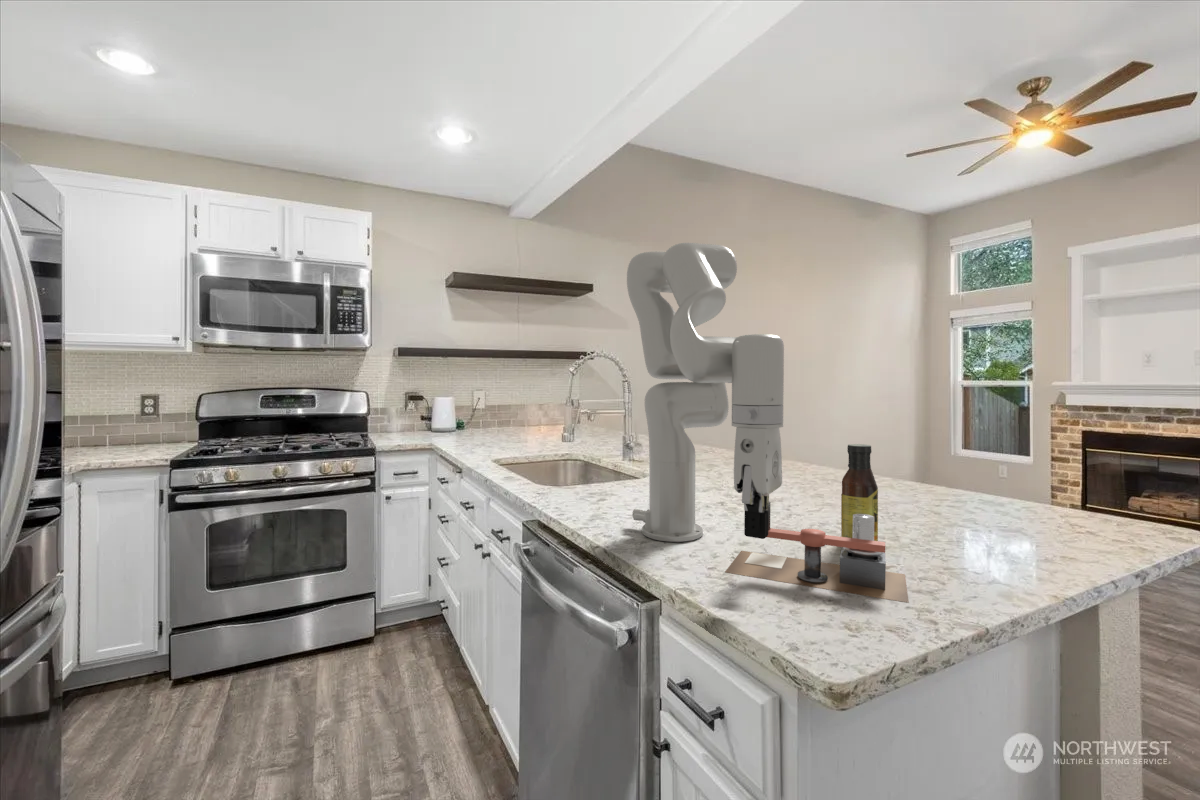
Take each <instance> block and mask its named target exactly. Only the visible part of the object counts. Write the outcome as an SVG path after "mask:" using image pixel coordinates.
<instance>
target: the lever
mask: <svg viewBox="0 0 1200 800" xmlns="http://www.w3.org/2000/svg"><path fill="white" fill-rule="evenodd" d="M766 511H769V513H768V536H767V537H766V538H771V539H776V540H777V539H778V540H786V541H793V542H794V541H795V542H798V543H799V542H800V543H801V544H802V545H804V546H805V545H806V546H811V547H821V548H823V547H825V546H831V547H840V548H842V547H845V548H853V549H860V550H868V551H876V552H883V553H885V554H886V542H885V541H879V540H878V541H871V540H863V539H855V538H847V537H841V536H839V535H838V536H837V535H830V534H826V532H825V531H824V530H821V529H816V528H803V529H801V530H800V531H796V530H788V529H782V528H781V529H779V528H772V527H771V501H770V500H769V507H768V510H766Z"/></svg>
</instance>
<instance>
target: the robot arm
mask: <svg viewBox="0 0 1200 800" xmlns="http://www.w3.org/2000/svg"><path fill="white" fill-rule="evenodd" d="M736 259H737V258H736V256H735V254H734V252H733V251H732V250H731V249H730V248H728V247H727V246H725V245H722V244H710V243H709V244H708V243H698V242H697V243H696V242H682V243H677V244H675V245H673V246H671V247H669V248H668V249H667V250H666V251H646V252H641V253H638V254H636V255H634V256H633V257H632V258H631V260H630V261H629V263H628V265H627V266H628V267H627V272H626V286H627V287H626V289H627V293H628V297H629V301H630V303H631V305H632V308H633V311H634V313H635V315H636V318H637V321H638V324H639V330H640V336H641V344H642V350H643V351H642V352H643V355H644V356H643V357H644V362H645V368H646V370H647V373H648V374H649V375H650V377H652V378H655V379H659V380H688V381H689V382H688V381H676V382H675V381H671V382H670V381H669V382H661V383H657V384H655V385H653V386H651V387H650V388H649V389H648V390H647V391H646V394H645V397H644V411H645V412H644V413H645V418H646V423H647V430H648V449H649V450H648V453H649V454H648V456H649V457H648V460H649V478H648V479H649V484H648V485H649V488H648V489H649V494H648V495H649V498H648V499H649V503H648V504H649V506H648V507H649V509H648V508H647V510H643V509H636V508H634V509H633V510H632V518H633V520H634V521H643V523H644V524H643V525H642V526H641V527H642V528H641V533H642V535H644V536H645V537H647V538H649V539H651V540H656V541H661V542H671V543H678V542H681V543H682V542H683V543H684V542H689V541H695V540H698V539H700V538H701V537H702V536H703V535H704V528H703V527H702V526H701V525H699V524H696V449H695V445H694V443H693V441H692V440H691V438H690V437H689V435H688V434H687V433H686V432H685V431H686V430H685V429H690V428H695V429H696V428H714V427H717V426H720V425H722V424H723V423H724V422H725V421H726V419H727V417H728V415H729V397H728V391H727V385H726V383H727V384H731V427H734V428H735V429H736V430H735V438H734V439H735V440H734V455H733V487H734V490H735V492H736V493H738V494H741V503H742V504H743V510H744V523H743V525H744V530H743V531H744V532H743V533H744V536H745V537H748V538H753V539H754V538H755V539H761V540H764V539H765V538H768V537H767V536H768V513H769V511H766V510H768V507H769V501H770V494H771V493H773V492H775V491H776V490H778V489H779V488H780V487H781V486H782V484H783V463H782V461H783V460H782V457H783V456H782V442H781V441H782V439H781V430H780V429H781V428H783V427H784V392H785V391H784V389H785V388H784V387H785V386H784V382H785V381H784V380H785V379H784V375H785V373H784V372H785V371H784V370H785V367H784V366H785V359H784V358H785V357H784V356H785V345H784V340H783V339H782V337H780V336H779V335H776V334H769V333H768V334H767V333H765V334H764V333H762V334H761V333H759V334H756V333H755V334H743V335H740V336H734V337H733V336H732V337H731V336H703V335H699V334H698V332H697V331H696V329H695V327H698V326H700V325H703V324H705V323H707V322H709V321H711V320H713V319H714V318H716V317H717V316H718V315H719V314H720V313H721V312H722V310H723V309H724V307H725V306H726V305H725V304H726V302H727V295H726V291H725V289H727V288H729V287H730V286H731V285H732V284H733V283H734V281H735V279H736V276H737V273H738V272H737V271H738V264H737V260H736ZM661 293H668V294H673V297H674V299H675V301H676V304H677V306H678V308H677V310H676V311H675V309H674V308H673V306H672V305H671V303H670V302H669V301H667V299H665V298H664V297H663V296H662V294H661ZM690 381H691V382H690Z"/></svg>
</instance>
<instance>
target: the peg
mask: <svg viewBox="0 0 1200 800" xmlns="http://www.w3.org/2000/svg"><path fill="white" fill-rule="evenodd" d="M852 538H855V539H863V540H871V541H874V516H871V515H867V514H854V515H853V537H852ZM843 549H844V550H845V551H846V552H849V553H851V554H852V557H856V558H863V559H871V560H874V557H875V556H881V555H883V552H876V551H868V550H860V549H853V548H845V547H843Z"/></svg>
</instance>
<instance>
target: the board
mask: <svg viewBox="0 0 1200 800" xmlns="http://www.w3.org/2000/svg"><path fill="white" fill-rule="evenodd" d="M804 561H805V559H802V558H796V557H788V556H784V555H783V556H782V555H775V554H768V553H762V552H755V551H754V552H753V551H748V550H747V551H746V550H740V551H739V553H737V556H736V557H735V558H734V559H733V560H732V561H731V563H730V564H729V566H728V567H727V568H726V570H725V571H724V573H726V574H731V575H738V576H745V577H752V578H757V579H763V580H769V581H775V582H779V583H787V584H793V585H799V586H805V587H810V588H818V589H822V590H828V591H829V590H830V591H834V592H835V591H836V592H840V593H841V592H842V593H847V594H854V595H859V596H865V597H871V598H877V599H883V600H889V601H896V602H901V603H906V604H907V603H908V604H910V602H909V593H908V586H907V579H906V574H905V573H899V572H892V571H886V573H885V590H881V589H875V588H868V587H862V586H856V585H850V584H843V583H840V564H838V563H837V564H835V563H830V562H823V561H821V573H824V574H826V575H827V577H828V581H827V582H826V583H822V584H813V583H807V582H804V581H802V580H800V579H799V578H798V572H799V571H803V570H804Z"/></svg>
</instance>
